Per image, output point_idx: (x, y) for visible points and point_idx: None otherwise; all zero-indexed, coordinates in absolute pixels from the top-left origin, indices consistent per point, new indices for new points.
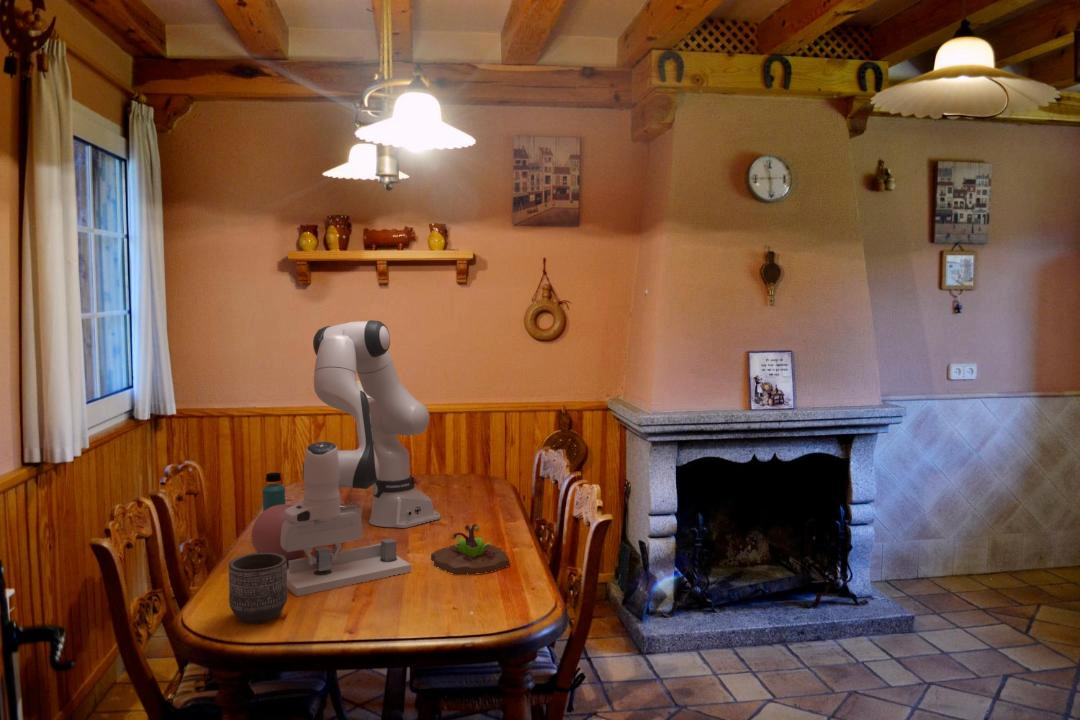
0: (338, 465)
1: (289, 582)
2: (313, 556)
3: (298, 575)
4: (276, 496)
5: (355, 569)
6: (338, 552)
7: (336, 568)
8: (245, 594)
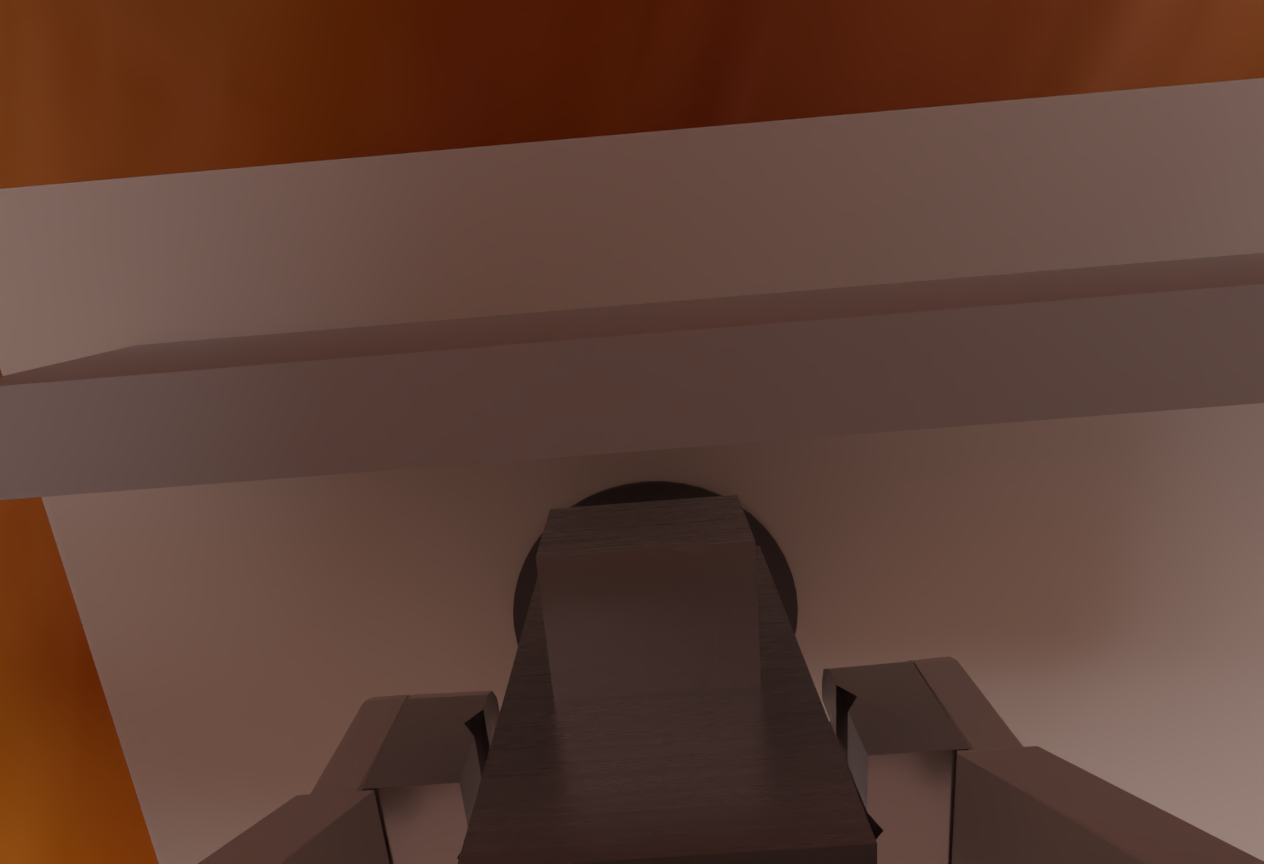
0: None
1: (129, 735)
2: (439, 823)
3: (276, 565)
4: None
5: (1135, 714)
6: (1206, 372)
7: (909, 545)
8: None
